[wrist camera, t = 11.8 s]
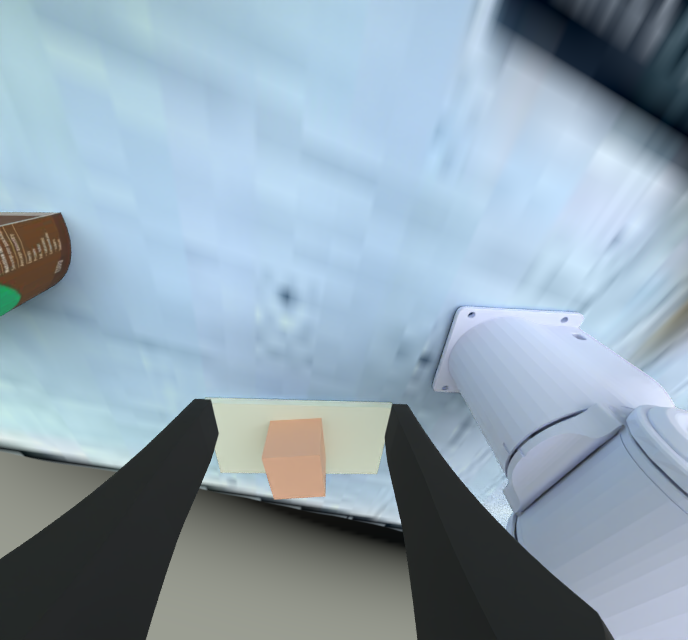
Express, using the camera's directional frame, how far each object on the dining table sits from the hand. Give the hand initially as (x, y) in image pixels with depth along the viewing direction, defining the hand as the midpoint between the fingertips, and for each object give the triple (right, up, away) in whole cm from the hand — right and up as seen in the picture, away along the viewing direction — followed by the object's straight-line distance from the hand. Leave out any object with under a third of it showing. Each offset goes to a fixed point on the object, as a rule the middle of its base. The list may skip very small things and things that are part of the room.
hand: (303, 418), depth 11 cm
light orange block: (-3, -7, +14) cm, 16 cm away
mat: (-2, -7, +15) cm, 17 cm away
